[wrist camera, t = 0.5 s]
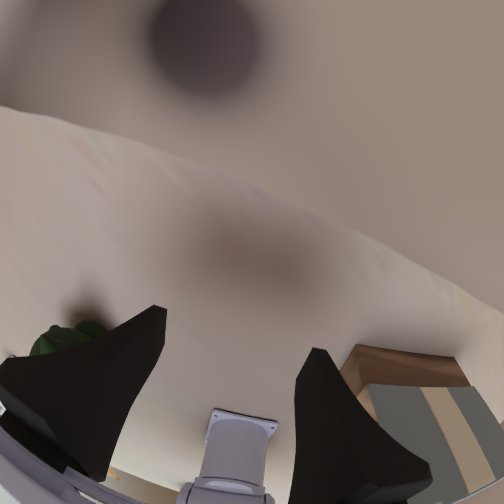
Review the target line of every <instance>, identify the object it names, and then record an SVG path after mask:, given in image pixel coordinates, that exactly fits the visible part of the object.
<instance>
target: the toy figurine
mask: <svg viewBox="0 0 504 504" xmlns="http://www.w3.org/2000/svg"><path fill="white" fill-rule="evenodd" d="M106 332H107V331H106V330H105V329H103V328H102V327H101V326H99V325H97V324H95V323H93V322H90V321H81V322H79V323H78V324H77V325H76V327H75V329H71V328H61V327H59V326H58V325H53V326H51V327H50V329H49V331H47V332H45V333H44V334H42V335H41V336H40V337H39V338H38V339H37V340H36V342H35V343H34V345H33V347H32V349H31V351H30V355H29V356H35V355H41V354H47V353H51V352H56V351H60V350H63V349H66V348H70V347H73V346H76V345H79V344H82V343H84V342H87V341H90V340H92V339H94V338H96V337H99V336H101V335H103V334H105V333H106Z"/></svg>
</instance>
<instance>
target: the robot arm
mask: <svg viewBox="0 0 504 504" xmlns="http://www.w3.org/2000/svg"><path fill="white" fill-rule="evenodd" d="M166 317H167V309H165V308H162V307H159V306H156V305H153V306H151V307H149V308H147V309H146V310H144V311H143V312H141V313H139V314H138V315H136V316H135V317H133V318H131V319H130V320H128V321H126V322H125V323H123V324H121V325H120V326H118V327H116V328H114V329H112V330H110V331H108V332H106V333H105V334H103V335H101V336H99V337H96V338H94V339H92V340H90V341H87V342H84V343H82V344H79V345H76V346H73V347H70V348H66V349H63V350H60V351H56V352H51V353H47V354H41V355H35V356H26V357H9V358H7V359H6V360H5V361H4V362H3V363H2V364H1V365H0V402H1V403H2V405H3V406H4V407H5V409H6V410H5V412H4V413H3V414H2V416H1V415H0V486H1V487H2V488H3V489H4V490H6V491H7V492H8V493H9V494H10V495H11V496H12V497H13V498H14V499H15V500H16V501H17V502H19V503H20V504H96V503H94V502H92V501H90V500H88V499H87V498H85V497H83V496H82V495H80V493H79V491H80V492H82V493H84V494H86V495H88V496H90V497H91V498H93V499H95V500H98V501H99V502H101V503H103V504H146V503H143V502H140V501H138V500H135V499H133V498H130V497H128V496H125V495H123V494H121V493H119V492H116V491H114V490H112V489H110V488H108V487H106V486H104V485H101V484H99V483H98V482H102V481H105V479H106V475H107V471H108V468H109V465H110V461H111V458H112V455H113V452H114V449H115V446H116V443H117V440H118V438H119V435H120V433H121V430H122V427H123V425H124V422H125V420H126V418H127V415H128V413H129V411H130V408H131V406H132V404H133V402H134V400H135V399H136V397H137V395H138V394H139V392H140V390H141V389H142V387H143V385H144V383H145V382H146V380H147V378H148V377H149V375H150V373H151V372H152V370H153V368H154V367H155V365H156V363H157V361H158V359H159V356H160V354H161V352H162V349H163V347H164V344H165V330H166ZM294 403H295V427H296V454H295V464H294V472H293V479H292V486H291V491H290V496H289V501H288V504H408V502H407V499H409V498H411V497H413V496H414V495H416V494H418V493H420V492H421V491H423V490H424V489H426V488H428V487H429V486H430V485H431V483H432V482H433V477H432V473H431V469H430V466H429V463H428V462H426V461H425V460H423V459H422V458H420V457H418V456H417V455H415V454H413V453H412V452H410V451H409V450H408V449H406V448H405V447H404V446H402V445H401V444H400V443H398V442H397V441H396V440H395V439H394V438H392V437H391V436H390V435H389V434H388V433H387V432H386V431H385V430H384V429H383V428H382V427H381V426H380V425H379V424H378V423H377V422H376V421H375V420H374V419H373V418H372V417H371V415H370V414H369V413H368V412H367V411H366V410H365V408H364V407H363V406H362V405H361V403H360V402H359V401H358V399H357V398H356V396H355V395H354V394H353V392H352V391H351V389H350V388H349V386H348V385H347V383H346V382H345V380H344V378H343V377H342V375H341V374H340V372H339V370H338V369H337V367H336V365H335V364H334V362H333V360H332V359H331V357H330V355H329V354H328V352H327V351H326V350H324V349H319V348H314V347H313V348H312V350H311V352H310V354H309V356H308V358H307V359H306V361H305V363H304V365H303V367H302V369H301V371H300V373H299V374H298V376H297V378H296V386H295V398H294ZM277 427H278V423H277V422H274V421H268V420H262V419H257V418H252V417H247V416H242V415H238V414H233V413H229V412H225V411H221V410H217V409H215V410H213V412H212V416H211V419H210V423H209V426H208V430H207V433H206V437H205V440H204V441H205V442H206V443H207V447H206V451H205V455H204V459H203V463H202V467H201V471H200V475H199V478H198V477H196V478H195V481H194V483H191V482H189V483H187V484H186V485H184V486H183V487H182V488H181V490H180V492H179V494H178V497H177V501H176V504H275V499H274V498H273V497H272V496H271V495H270V494H266V493H265V487H263V481H264V471H265V460H266V449H267V441H268V440H269V439H270V437H271V436H272V434H273V433H274V431H275V430H276V428H277ZM78 490H79V491H78ZM264 493H265V494H264ZM435 504H443V503H442V502H438V503H435Z"/></svg>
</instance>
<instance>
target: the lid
mask: <svg viewBox="0 0 504 504" xmlns="http://www.w3.org/2000/svg"><path fill="white" fill-rule="evenodd" d="M367 390H368V393H369V396H370V399H371V402H372V404H373V407H374V410H375V413H376V416H377V419H378V422H379V425H380V426H381V427H382V428H383V429H384V430H385V431H386V432H387V433H388V434H389V435H390V436H391V437H392V438H394V439H395V440H396V441H397V442H398V443H400V444H401V445H402V446H404V447H405V448H406V449H408V450H409V451H410V452H412V453H413V454H415V455H417V456H418V457H420V458H422V459H423V460H425V461H426V462H428V463H429V466H430V469H431V473H432V477H433V482H432V483H431V485H430V486H429V487H428V488H426V489H424V490H423V491H421V492H420V493H418V494H416V495H414V496H413V497H411V498H409V499H407V502H408V504H435V503H438V502H442V503H443V504H455V503H457V502H460V501H462V500H464V499H466V498H469V497H471V496H473V495H475V494H477V493H479V492H481V491H482V490H484V489H486V488H488V487H490V486H492V485H493V484H495V483H497V482H499V481H500V480H502V479H504V431H503V429H502V428H501V426H500V424H499V423H498V421H497V420H496V418H495V417H494V415H493V413H492V412H491V410H490V409H489V407H488V406H487V404H486V403H485V401H484V400H483V398H482V397H481V396H480V394H479V393H478V391H477V390H476V388H475V387H474V386H472V387H414V386H396V385H383V384H370V385H369V387H368V388H367Z"/></svg>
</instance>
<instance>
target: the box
mask: <svg viewBox="0 0 504 504" xmlns="http://www.w3.org/2000/svg"><path fill="white" fill-rule="evenodd" d="M340 374H341V375H342V377H343V378H344V380H345V382H346V383H347V385H348V386H349V388H350V389H351V391H352V392H353V394H354V395H355V396H356V398H357V399H358V401H359V402H360V403H361V405H362V406H363V407H364V408H365V410H366V411H367V412H368V413H369V414H370V415H371V417H372V418H373V419H374V420H375V421H376V422H377V423H378V424H379V422H378V419H377V416H376V413H375V410H374V407H373V404H372V402H371V399H370V396H369V393H368V390H367V388H368V387H369V385H370V384H383V385H396V386H414V387H471V385H470V383H469V382H468V380H467V378H466V376H465V375H464V373H463V371H462V370H461V368H460V366H459V365H458V363H457V361H456V360H455V358H453V357H443V356H434V355H425V354H417V353H409V352H402V351H395V350H388V349H382V348H376V347H370V346H364V345H358V344H356V346H355V347H354V349H353V351H352V352H351V354H350V356H349V357H348V359H347V361H346V362H345V364H344V365H343V367H342V369H341V370H340Z"/></svg>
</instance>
